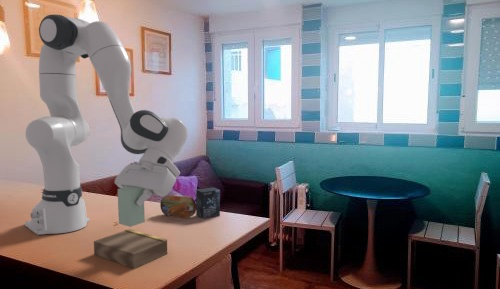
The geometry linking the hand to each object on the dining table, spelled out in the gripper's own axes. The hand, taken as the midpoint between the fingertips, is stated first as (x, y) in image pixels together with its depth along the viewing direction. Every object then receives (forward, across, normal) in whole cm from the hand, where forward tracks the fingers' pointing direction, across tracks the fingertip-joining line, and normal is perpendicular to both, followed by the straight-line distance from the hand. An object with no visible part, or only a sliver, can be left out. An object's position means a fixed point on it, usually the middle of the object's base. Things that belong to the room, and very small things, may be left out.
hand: (129, 203), depth 104 cm
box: (-19, -6, +41) cm, 46 cm away
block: (+4, 0, +5) cm, 6 cm away
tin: (-14, -15, +36) cm, 42 cm away
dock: (+10, -1, +11) cm, 15 cm away
